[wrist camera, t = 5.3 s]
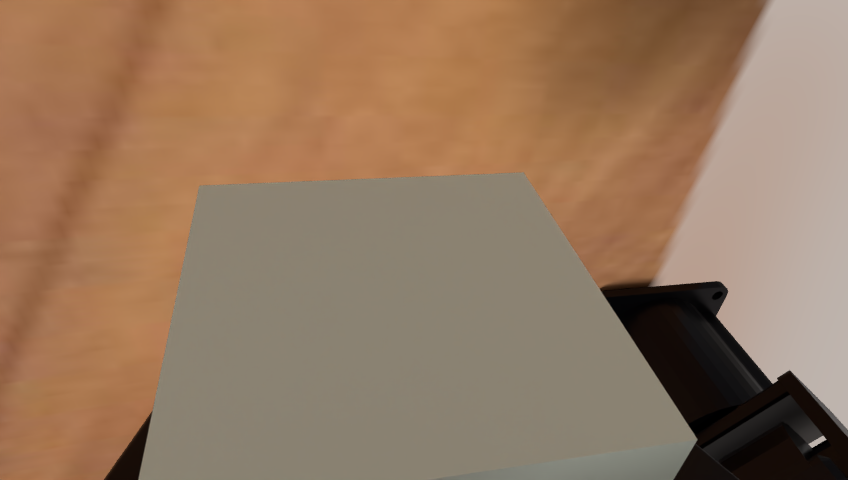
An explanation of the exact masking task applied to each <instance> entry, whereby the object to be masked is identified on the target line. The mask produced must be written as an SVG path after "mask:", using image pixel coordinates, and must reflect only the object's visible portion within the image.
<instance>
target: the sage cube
mask: <svg viewBox="0 0 848 480" xmlns="http://www.w3.org/2000/svg"><path fill="white" fill-rule="evenodd" d="M697 440H698V439H697V438H696V436H695V435H694V433H693V432H692V430H691V429H690V427H689V426H688V424H687V423H686V421H685V420H684V418H683V416H682V415H681V413H680V412H679V410H678V409H677V407H676V406H675V404H674V403H673V401H672V400H671V398H670V396H669V395H668V393H667V392H666V390H665V389H664V387H663V386H662V384H661V383H660V381H659V380H658V378H657V377H656V375H655V373H654V372H653V370H652V369H651V367H650V366H649V364H648V363H647V361H646V360H645V358H644V357H643V355H642V354H641V352H640V350H639V349H638V347H637V346H636V344H635V343H634V341H633V340H632V338H631V337H630V335H629V334H628V332H627V331H626V329H625V327H624V326H623V324H622V323H621V321H620V320H619V318H618V317H617V315H616V314H615V312H614V311H613V309H612V307H611V306H610V304H609V303H608V301H607V300H606V298H605V297H604V295H603V294H602V292H601V291H600V289H599V288H598V286H597V284H596V283H595V281H594V280H593V278H592V277H591V275H590V274H589V272H588V271H587V269H586V268H585V266H584V265H583V263H582V261H581V260H580V258H579V257H578V255H577V254H576V252H575V251H574V249H573V248H572V246H571V245H570V243H569V242H568V240H567V238H566V237H565V235H564V234H563V232H562V231H561V229H560V228H559V226H558V225H557V223H556V222H555V220H554V218H553V217H552V215H551V214H550V212H549V211H548V209H547V208H546V206H545V205H544V203H543V202H542V200H541V199H540V197H539V195H538V194H537V192H536V191H535V189H534V188H533V186H532V185H531V183H530V182H529V180H528V179H527V177H526V176H525V174H524V173H501V174H476V175H451V176H426V177H401V178H377V179H352V180H327V181H302V182H278V183H253V184H228V185H203V186H199V190H198V195H197V200H196V204H195V209H194V214H193V219H192V224H191V229H190V233H189V238H188V243H187V248H186V253H185V257H184V262H183V267H182V272H181V277H180V282H179V286H178V291H177V296H176V301H175V306H174V310H173V315H172V320H171V325H170V330H169V335H168V339H167V344H166V349H165V354H164V359H163V363H162V368H161V373H160V378H159V383H158V388H157V392H156V397H155V402H154V407H153V412H152V416H151V421H150V426H149V431H148V436H147V441H146V445H145V450H144V455H143V460H142V465H141V469H140V474H139V479H138V480H673V479H674V478H675V476H676V474H677V473H678V471H679V469H680V468H681V466H682V465H683V463H684V461H685V460H686V458H687V456H688V455H689V453H690V451H691V450H692V448H693V446H694V445H695V443H696V441H697Z"/></svg>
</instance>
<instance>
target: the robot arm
mask: <svg viewBox="0 0 848 480" xmlns="http://www.w3.org/2000/svg"><path fill="white" fill-rule="evenodd" d="M727 293H728V290H727V288H726V287H725V286H724V285H723V284H722V283H721V282H717V281H715V282H703V283H691V284H680V285H669V286H656V287H644V288H632V289H621V290H609V291H602V294H603V295H604V297H605V298H606V300H607V301H608V303H609V304H610V306H611V307H612V309H613V311H614V312H615V314H616V315H617V317H618V318H619V320H620V321H621V323H622V324H623V326H624V327H625V329H626V331H627V332H628V334H629V335H630V337H631V338H632V340H633V341H634V343H635V344H636V346H637V347H638V349H639V350H640V352H641V354H642V355H643V357H644V358H645V360H646V361H647V363H648V364H649V366H650V367H651V369H652V370H653V372H654V373H655V375H656V377H657V378H658V380H659V381H660V383H661V384H662V386H663V387H664V389H665V390H666V392H667V393H668V395H669V396H670V398H671V400H672V401H673V403H674V404H675V406H676V407H677V409H678V410H679V412H680V413H681V415H682V416H683V418H684V420H685V421H686V423H687V424H688V426H689V427H690V429H691V430H692V432H693V433H694V435H695V436H696V438H697V439H698V440H697V441H696V443H695V445H694V446H693V448H692V450H691V451H690V453H689V455H688V456H687V458H686V460H685V461H684V463H683V465H682V466H681V468H680V469H679V471H678V473H677V474H676V476H675V478H674V479H673V480H848V430H847V429H846V428H845V426H844V425H843V424H842V423H841V422H840V421H839V420H838V419H837V418H836V417H835V416H834V414H833V413H832V412H831V411H830V410H829V409H828V408H827V407H826V406H825V405H824V404H823V403H822V402H821V401H820V400H819V399H818V398H817V397H816V396H815V395H814V394H813V393H812V392H811V391H810V390H809V389H808V388H807V387H806V386H805V385H804V384H803V383H802V382H801V381H800V380H799V379H798V378H797V377H796V376H795V375H794V374H793V373H792V372H791V371H788V372H786V373H785V374H783V375H781V376H780V377H778V378H777V379H778V381H777V382H775V383H774V384H772V383H771V381H770V380H769V379H768V378H767V377H766V376H765V374H764V373H763V372H762V371H761V370H760V368H759V367H758V366H757V365H756V364H755V363H754V361H753V360H752V359H751V358H750V357H749V355H748V354H747V353H746V352H745V351H744V350H743V348H742V347H741V346H740V345H739V344H738V342H737V341H736V340H735V339H734V337H733V336H732V335H731V334H730V333H729V332H728V330H727V329H726V328H725V327H724V326H723V324H722V323H721V322H720V321H719V320H718V318H717V317H716V315H717V313H718V311H719V309H720V307H721V305H722V303H723V302H724V300H725V298H726V296H727ZM152 412H153V411H152ZM152 412H151V414H150V415H149V417H148V418H147V419H146V421H145V422H144V424H143V425H142V426H141V428H140V429H139V431H138V432H137V434H136V435H135V436H134V438H133V439H132V441H131V442H130V443H129V445H128V446H127V448H126V449H125V451H124V452H123V453H122V455H121V456H120V458H119V459H118V460H117V462H116V463H115V465H114V466H113V468H112V469H111V470H110V472H109V473H108V475H107V476H106V478H105V479H104V480H138V479H139V474H140V469H141V465H142V460H143V455H144V450H145V445H146V441H147V436H148V431H149V426H150V421H151V416H152ZM821 436H824V437H825V438H826V439H827V440H825V441H824V442H822V443H820V444H818V445H817V446H815V447H813V448H811V447H810V446H809V445H808V444H809V443H811V442H812V441H814V440H816V439H818V438H819V437H821Z"/></svg>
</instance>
